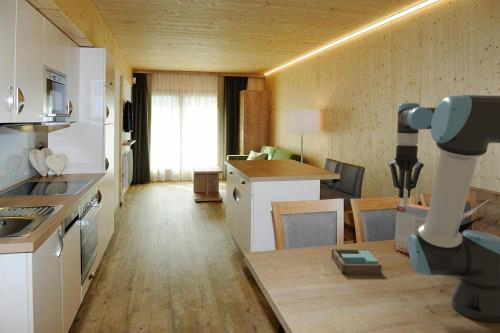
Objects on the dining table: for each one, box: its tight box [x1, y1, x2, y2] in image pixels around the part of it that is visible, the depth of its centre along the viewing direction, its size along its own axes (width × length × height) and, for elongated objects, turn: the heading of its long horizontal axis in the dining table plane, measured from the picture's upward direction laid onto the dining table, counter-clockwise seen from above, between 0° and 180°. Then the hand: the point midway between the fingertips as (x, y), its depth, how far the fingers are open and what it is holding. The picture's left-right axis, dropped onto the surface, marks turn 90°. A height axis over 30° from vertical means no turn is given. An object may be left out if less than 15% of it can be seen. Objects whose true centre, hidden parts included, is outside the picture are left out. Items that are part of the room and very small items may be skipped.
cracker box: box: [394, 202, 429, 255], centre depth 164 cm, size 14×6×21 cm, turn 36°
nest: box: [331, 248, 382, 276], centre depth 151 cm, size 18×14×4 cm
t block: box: [341, 250, 379, 264], centre depth 151 cm, size 12×12×4 cm
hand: (403, 206), depth 148 cm, fingers closed
